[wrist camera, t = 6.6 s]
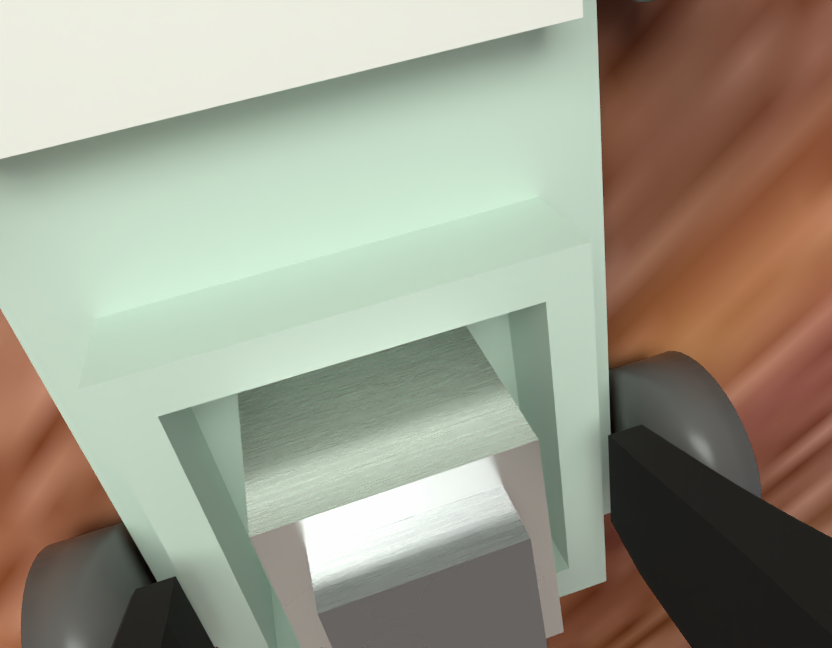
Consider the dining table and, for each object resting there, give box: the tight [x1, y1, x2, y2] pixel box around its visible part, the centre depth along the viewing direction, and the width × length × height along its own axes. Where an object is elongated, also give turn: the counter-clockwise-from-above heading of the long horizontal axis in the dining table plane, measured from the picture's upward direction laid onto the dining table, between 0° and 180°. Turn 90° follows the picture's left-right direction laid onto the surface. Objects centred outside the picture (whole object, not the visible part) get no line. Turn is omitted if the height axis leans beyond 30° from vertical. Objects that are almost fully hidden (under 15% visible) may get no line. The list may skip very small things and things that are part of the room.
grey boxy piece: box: [237, 326, 564, 648], centre depth 12 cm, size 4×4×5 cm
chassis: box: [0, 0, 761, 648], centre depth 11 cm, size 16×13×4 cm
